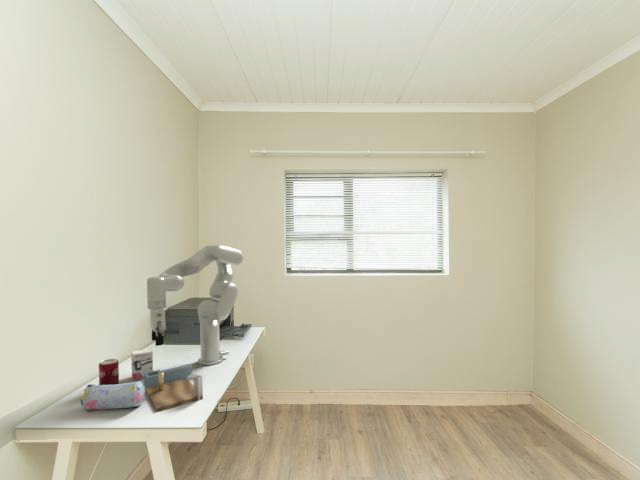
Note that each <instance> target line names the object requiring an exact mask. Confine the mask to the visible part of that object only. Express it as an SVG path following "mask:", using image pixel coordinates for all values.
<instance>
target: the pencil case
mask: <svg viewBox="0 0 640 480" xmlns="http://www.w3.org/2000/svg"><path fill="white" fill-rule="evenodd" d="M145 388H146V387H145V385H144V381H136V382H126V383H119V384H116V385H99V384H95V383H94V384H93V383H89V384H87V386H86V387H85V388H84V390H83V395H82V398H81V399H80V406H82V408H83V409H84V410H86V411H88V410H89V411H100V410H102V411H103V410H114V409H116V410H117V409H126V408H134V407H135V408H136V407H140V406H142V403H143V400H144V397H145V394H146V391H145Z"/></svg>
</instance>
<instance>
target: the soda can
mask: <svg viewBox="0 0 640 480" xmlns="http://www.w3.org/2000/svg"><path fill="white" fill-rule="evenodd" d="M119 365H120V363H119V360H118V359H117V358H107V359H104V360H101V361H100V362H99V363H98V385H116V384H120V374H119V373H120V372H119V371H120V367H119Z"/></svg>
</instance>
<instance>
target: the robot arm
mask: <svg viewBox="0 0 640 480" xmlns="http://www.w3.org/2000/svg"><path fill="white" fill-rule="evenodd" d="M243 260H244V254H243V253H242V252H241V250H240V249H238V248H237V249H236V248H233V247H229V246H225V245H219V244H209V245H205V246H204V247H202V248H201V249H199V250H198V251H197V252H195V253H194V254H192V255H191V256H190V257H188V258H187V259H185V260H183V261H181V262H178V263H176V264H174V265H172V266H170V267H168V268H167V269H166V270H164V271H163V272H161V273H160V274H159V275H158V276H152V277H151V276H150V277H148V278H147V280H146V295H147V296H146V299H147V310H150V312H149V313H150V317H149V318H150V319H149V320H150V327H151V328H150V329H151V340H152V342H153V341H155V346H156V347H157V346H163V345H164V344H165V343H164V342H165V340H164V338H165V337H164V331H166V330H167V329H166V328H167V326H166V324H167V323H166V312H165V308H166V307H167V300H166V299H167V298H166V297H167V292H178V291H180V290H181V289H183V287H184V286H185V279H184V277H187V276H193V275H195V274H198V273H200V272H201V271H203V269H206V267H207V266H209V265H210V264H212V262H215V263H216V265H217V274H216V276H215V278H214V280H213V282H212V284H211V286H210V289H209V292H208V293H209V297H210V298H211V299H209V300H208V299H206V300H203V301H201V302H200V303H199V305H198V307H197V315H198V320H199V333H200V334H199V335H200V341H199V342H200V357H199V358H198V359H197V364H198V365H201V366H211V365H216V364H219V363H222V362H223V361H224V357H223V356H227V355H229V354H230V351H229V350H220V348H221V347H220V345H221V343H220V340H221V339H220V324H219V321H221V322H222V321H224V320H226V319H227V318H228V317H229V315H230V314H231V311H232V310H233V308H234V304H235V303H236V300H237V298H238V294H239V290H238V287H237V285H236V284H235V283H233V282H232V280H233V277H234V271H233V268H232V266H239V265H241V263H242V262H243ZM213 299H214V300H213Z"/></svg>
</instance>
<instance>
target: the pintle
mask: <svg viewBox="0 0 640 480" xmlns="http://www.w3.org/2000/svg"><path fill="white" fill-rule="evenodd" d="M158 381H159V391H163V390H164V373H163V372H161V373H158Z"/></svg>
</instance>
